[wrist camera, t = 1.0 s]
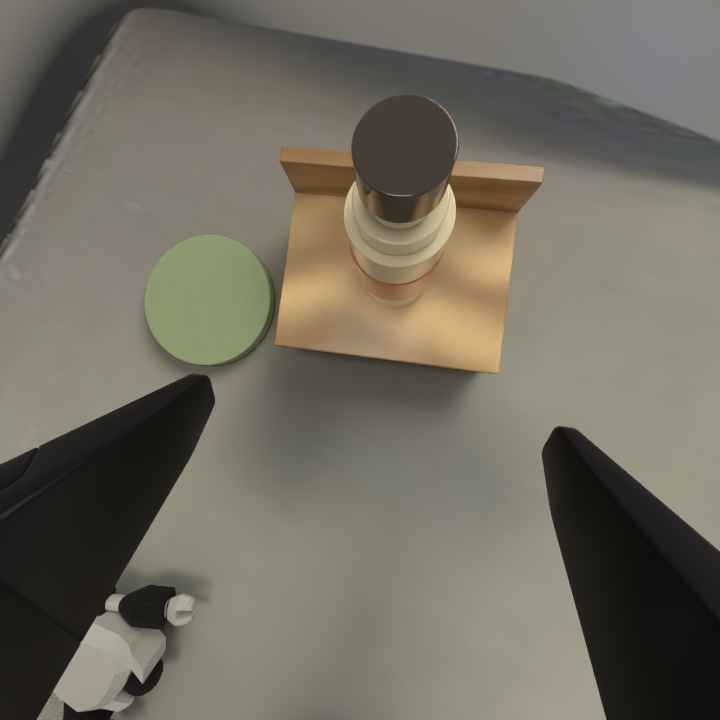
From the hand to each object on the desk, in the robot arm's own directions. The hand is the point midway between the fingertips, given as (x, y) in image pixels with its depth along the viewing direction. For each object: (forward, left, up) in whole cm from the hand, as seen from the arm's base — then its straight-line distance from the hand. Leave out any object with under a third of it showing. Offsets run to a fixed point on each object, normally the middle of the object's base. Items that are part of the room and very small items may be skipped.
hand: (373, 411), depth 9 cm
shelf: (+5, +5, -14) cm, 16 cm away
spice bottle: (+5, +5, -11) cm, 12 cm away
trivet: (-5, +12, -14) cm, 19 cm away
